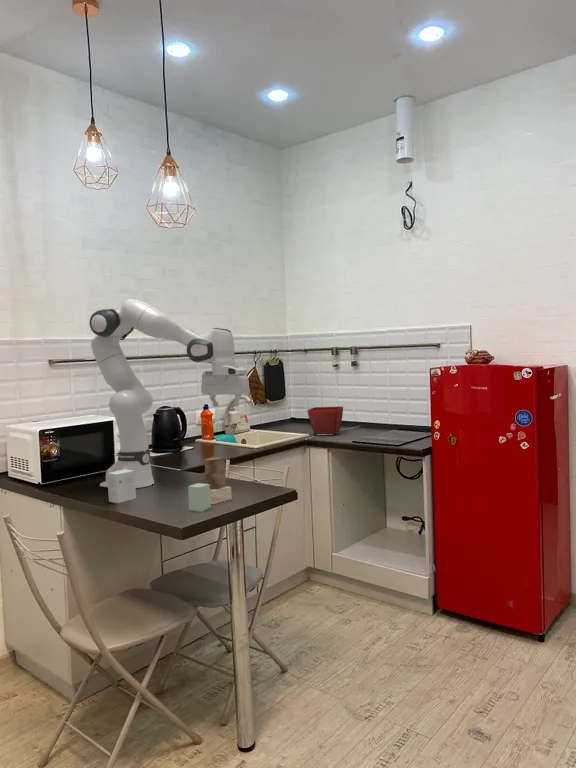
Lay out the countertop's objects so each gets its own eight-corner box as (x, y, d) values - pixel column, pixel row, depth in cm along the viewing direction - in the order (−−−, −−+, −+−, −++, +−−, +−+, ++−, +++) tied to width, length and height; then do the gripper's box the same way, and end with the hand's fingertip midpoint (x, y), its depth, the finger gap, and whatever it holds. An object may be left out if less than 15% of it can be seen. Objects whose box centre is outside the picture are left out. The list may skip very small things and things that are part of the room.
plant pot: (308, 436, 362) (307, 409, 361) (315, 432, 380) (314, 407, 379) (338, 436, 356) (337, 409, 355) (344, 432, 374) (343, 406, 374)
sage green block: (189, 510, 191) (188, 486, 191) (198, 506, 196) (197, 483, 195) (201, 511, 189) (200, 487, 189) (210, 508, 193) (209, 484, 193)
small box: (127, 497, 215) (125, 468, 215) (136, 498, 212) (134, 470, 211) (108, 501, 209) (106, 472, 209) (117, 503, 205) (115, 474, 205)
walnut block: (205, 488, 201) (204, 459, 201) (213, 485, 206) (212, 457, 206) (218, 489, 199) (217, 460, 199) (225, 486, 204) (224, 457, 204)
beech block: (199, 502, 203) (198, 488, 203) (218, 498, 208) (217, 484, 208) (212, 506, 197) (212, 491, 197) (231, 501, 202) (231, 487, 202)
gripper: (196, 371, 225) (198, 407, 225) (241, 369, 215) (243, 407, 215) (206, 371, 230) (208, 405, 231) (250, 369, 220) (252, 405, 221)
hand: (225, 406), depth 223 cm, fingers open, 8 cm apart
